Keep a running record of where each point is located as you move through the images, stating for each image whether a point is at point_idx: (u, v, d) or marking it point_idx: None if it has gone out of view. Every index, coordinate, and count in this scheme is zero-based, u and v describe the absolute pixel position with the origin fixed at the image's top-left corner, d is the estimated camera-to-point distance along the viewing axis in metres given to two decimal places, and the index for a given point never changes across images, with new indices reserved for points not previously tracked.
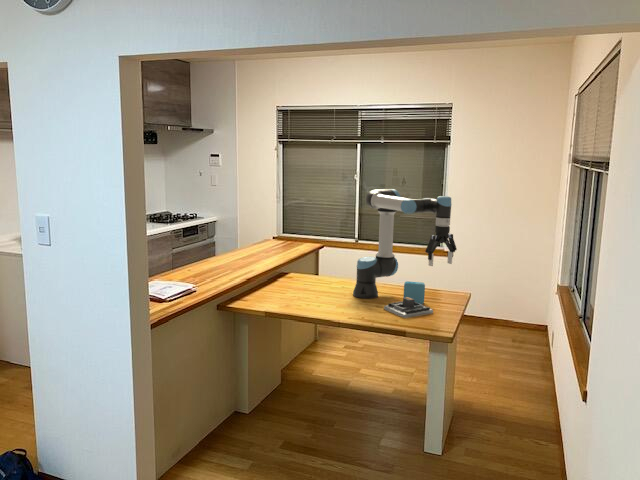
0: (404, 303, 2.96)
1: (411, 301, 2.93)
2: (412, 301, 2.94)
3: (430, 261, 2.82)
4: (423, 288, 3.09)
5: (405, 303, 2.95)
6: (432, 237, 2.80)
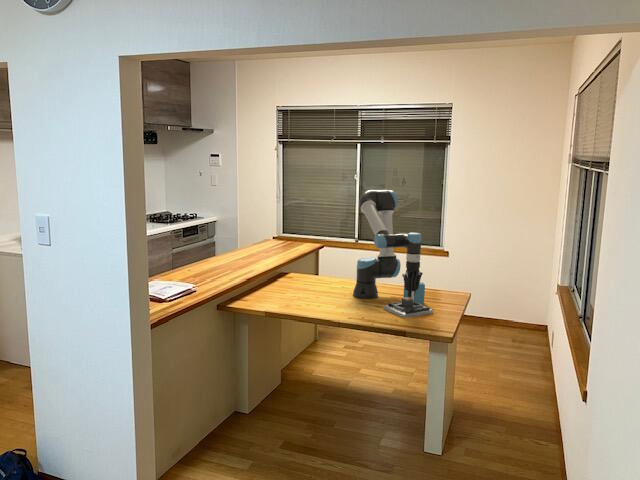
0: (402, 303, 2.95)
1: (410, 301, 2.93)
2: (411, 301, 2.93)
3: (410, 298, 2.96)
4: (423, 288, 3.09)
5: (404, 303, 2.94)
6: (404, 276, 2.91)
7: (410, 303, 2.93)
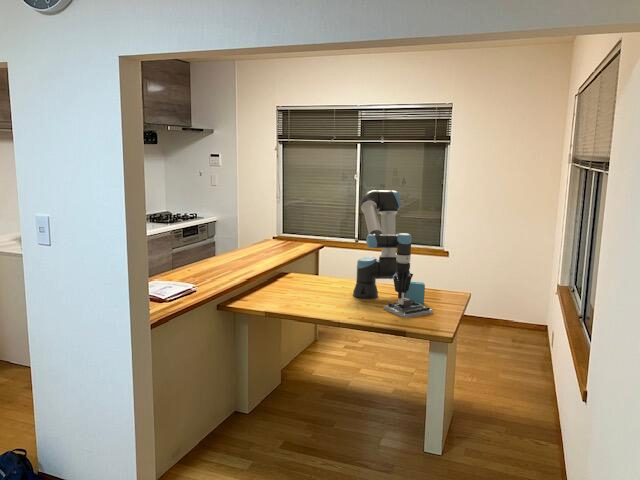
0: None
1: (408, 302, 2.92)
2: (409, 302, 2.92)
3: (400, 299, 2.92)
4: (423, 288, 3.09)
5: None
6: (394, 278, 2.87)
7: (408, 303, 2.92)
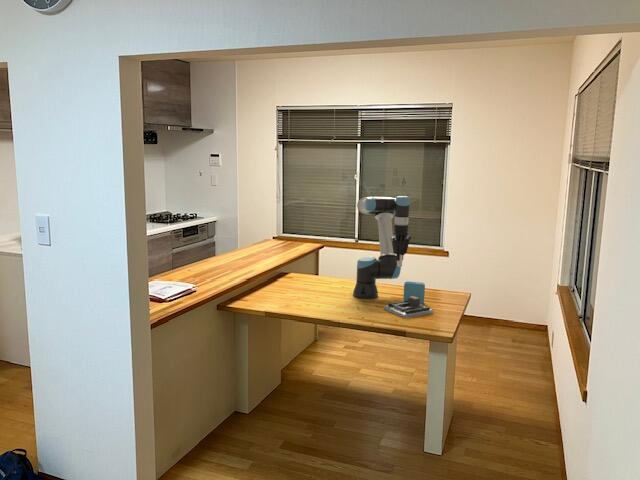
0: (409, 302, 2.98)
1: (416, 300, 2.95)
2: (417, 300, 2.95)
3: (398, 262, 2.96)
4: (423, 288, 3.09)
5: (411, 302, 2.97)
6: (392, 240, 2.91)
7: (417, 302, 2.95)
